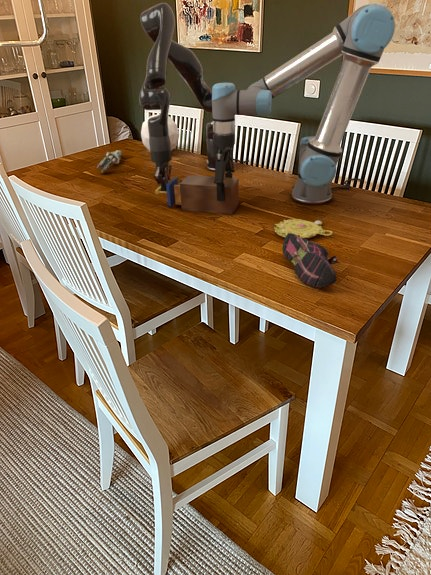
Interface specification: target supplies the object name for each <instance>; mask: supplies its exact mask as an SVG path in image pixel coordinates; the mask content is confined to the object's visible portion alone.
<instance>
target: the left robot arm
mask: <svg viewBox="0 0 431 575" xmlns="http://www.w3.org/2000/svg"><path fill="white" fill-rule="evenodd" d="M139 19H140V20H139V21H140V24H141V26H142V29H143V31H144V32H145V34H146V35H147V36H148V38H149V39H150V40H151V41H152V42H153V46H152V48H151V50H150V52H149V54H148V57H147V60H146V69H145V70H146V71H145V78H144V81H143V84H142V86H141V89H140V91H139V95H138V96H139V97H138V102H139V105H140V106H141V108H142V109H143V110H145V111H160V113H159V114H160V115H158V116H155V117H151V118H149V117H148V118H149V119H148V118H147V119H148V131H149V145H150V151H149V153H150V161H151V162H152V163H154V164H155V173H153V179H154V181H155V182H156V184H157V185H159V186H161V191H166V192H167V190H166V184H168V183H169V181H171V180H170V179H171V173H172V166H173V165H172V164H170V162H171V161H172V158H173V157H172V151H171V146H170V138H169V132H168V116H169V112H170V105H171V93H170V91H169V89H167V88H166V87H164V86H165V85H166V83H167V74H168V61H169V62H170V64H171V65H172V66H173V68H174V70H175V71H176V72H177V74H178V75H179V76H180V78H181V79H182V80H183V81H184V83H185V84H186V85H187V86H188V88H189V89H190V90H191V92H192V93H193V95H194V97H195V98H196V100H197V102H198V104H199V105H200V107H201V108H202V110H203V111H204V112H205V113H207V114H209V115H210V114H211V115H213V113H212V88H210V87H209V86H208V84H207V83H206V81H205V79H204V69H203V65H202V63H201V62H200V60H199V59H198V57H197V56H196V54H195V53H194V51H192V50H191V49H190V48H188V47H187V46H184V45H182V44H180V43H179V42H176V41H174V40H173V37H174V32H175V27H176V17H175V14H174V11H173V9H172V7H171V6H170V5H169V4H168V3H167V2H160V3H158V4H155V5H154V6H153V5H152V6H151V7H149V8H147V9H146V10H144V11H142V12H141V13H140V15H139ZM212 122H213V120H212V121H210V122H207V123H206V125H205V128H206V129H205V134H206V165H207V166H206V167H207V170H208V171H212V172H215V164H216V157H215V155H216V154H217V152H218V150H219V147H217V146H215V145H214V144H213V134H214V132H213V125H212ZM234 161H235V162H238V163H240V164H246V163H249V162H250V159H247V160H240V159H237V158H233V162H234ZM161 194H162V195H167V194H166V193H161Z"/></svg>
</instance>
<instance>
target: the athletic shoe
mask: <svg viewBox="0 0 431 575" xmlns="http://www.w3.org/2000/svg"><path fill="white" fill-rule="evenodd" d="M285 236H286V237H284V240H283V243H282V254H283V255H284V258H285V259H286V260H287V261H289V262H290V263H292V264H293V266H294V271H295V272H294V273H295V274H296V276H297V277H298V278H299V280H300V281H301V282H302V283H303V284H305V285H307V286H311V287H316V288H324V287H327V286H332V285H333V284H335V283H336V281H337V278H338V277H337V273H336V271H335V269H334V268H333V265H335V264H341V262H339V261H338V260H339V259H338V258H337V256H336V255H332V256H331V257H329V252H328V250H327V249H326V248H325V247H324V246H322V245H321V244H319V243H317V242H315V241H311V240H308V239H307V238H305V239H303V238H300V236H297V235H296V234H293V233H288V234H287V235H285Z"/></svg>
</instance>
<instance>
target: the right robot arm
mask: <svg viewBox="0 0 431 575" xmlns="http://www.w3.org/2000/svg"><path fill="white" fill-rule="evenodd" d="M395 29H396V20H395V18H394V15H393V13H392V12H391V10H389V9H388V8H387V7H386V6H385V5H382V4H377V3H373V4H372V3H371V4H365V5H362V6H360V7H358V8H357V9H355V10H354V11H353V12H352V13H351V14H350V15H349V16H348V17H346V18H345V19H344V20H343V21H341V22H340V23H338V24H337V25H335V26H334V27H333V29H332V32H331V33H329V34H327V35H326V36H325V37H323V38H322V39H320V40H318V41H317V42H315V43H314V44H312V45H311V46H309V47H308V48H306V49H305V50H303V51H302V52H300V53H299V54H297V55H296V56H293V57H292V58H290V60H288V61H287V62H285V63H283V64H281V65H280V66H279V67H277V68H275V69H274V70H273V71H271V72H270V73H268V74H267V75H265V76H264V77H263V78H261V79H259V80H257V81H256V82H253V83H251V84H250V85H249V86H248V87H247V88H246V89H242V90H241V89H236V85H235V84H234V83H233V82H217V83H215V84H213V86H212V88H211V90H212V113H213V114H212V121H213V122H212V121H211V122H212V125H213V132H214V134H213V144H214V145H215V146H217V147H219V150H218V152H217V154H216V155H215V157H216V164H215V171H214V177H215V181H214V183H216V184H217V201H225V183H224V177H228V178H233V173H235V172H236V170H235V163H234V160H233V159H234V152H233V151H234V150H233V148H234V147H233V146H234V145H235V144H236V133H235V132H236V116H268V115H270V114H271V113H272V100H273V99H274V98H276V97H277V96H280V95H281V94H282V93H284V92H285V91H287V90H289V89H290V88H292V87H293V86H295V85H296V84H298V83H300V82H301V81H303V80H305V79H306V78H308V77H309V76H312V75H313V74H314V73H316V72H317V71H319V70H321V69H322V68H324V67H325V66H327V65H329V64H331V63H332V62H334V61H335V60H337V59H339V58H340V57H343V60H342V63H341V66H340V69H339V71H338V74H337V76H336V79H335V82H334V85H333V88H332V90H331V93H330V96H329V98H328V101H327V103H326V107H325V109H324V112H323V114H322V117H321V120H320V123H319V125H318V128H317V130H316V133H315V135H314V136H313V135H312V136H304V137H302V138H301V139H300V142H299V143H300V144H299V157H298V168H297V178H296V181H295V184H294V185H292V187H291V189H292V192H291V199H292V200H293V201H295V202H296V203H298V204H303V205H311V206H317V205H323V204H327V203H329V202H331V201H332V198H333V194H332V193H333V192H332V190H340V189H343V190H349V189H351V188H352V185H351V184H350V183H349V182H352V181H359V182H360V183H363V182H364V181H363V179H361V178H358V177H352V178H349V179H346V180H344V181H343V185H344V186H332V187H331V183H332V182H333V181H334V179H335V177H336V174H337V165H338V163H339V160H340V158H341V155H342V153H343V149H342V146H341V143H342V141H343V138H344V136H345V133H346V130H347V128H348V126H349V124H350V121H351V118H352V116H353V113H354V111H355V109H356V106H357V104H358V101H359V99H360V96H361V94H362V91H363V89H364V86H365V84H366V81H367V79H368V77H369V74H370V71H371V69H372V68H373V67H375V65H378V64H379V62H380V60H381V58H382V55H383V54H384V51H385V48H387V47H388V45H389V44H390V43H391V41H392V39H393V37H394V34H395V31H396V30H395Z"/></svg>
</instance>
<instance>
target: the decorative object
mask: <svg viewBox="0 0 431 575" xmlns="http://www.w3.org/2000/svg"><path fill="white" fill-rule="evenodd" d="M322 225H323V221H321V220H314V222H313V221H310V220H304V219H303V218H292V219H283V221H279V223H274V227H273V229H274V233H276V234H277V236H279V237H282V238H285V237H286V235H287V234H288V233H293V234H296V235H297V236H299V237H300V238H303V239H310V238H313V237H315V236H317V235H319V236H320V235H321V236H325V237H329V236H331V235H333V231H332V230H325V229H323V227H322ZM326 233H327V234H326Z"/></svg>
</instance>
